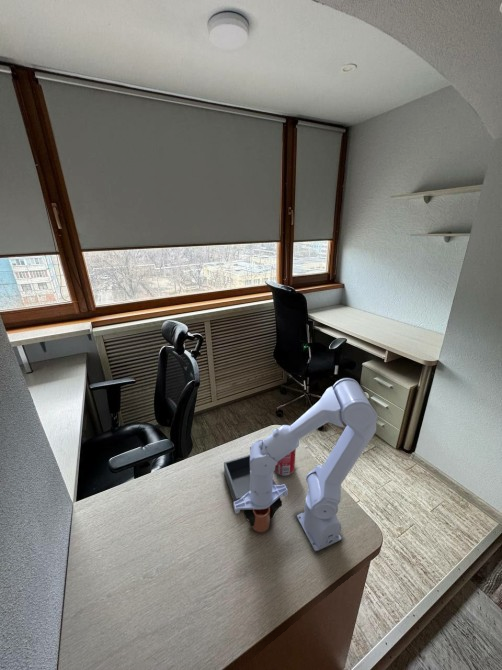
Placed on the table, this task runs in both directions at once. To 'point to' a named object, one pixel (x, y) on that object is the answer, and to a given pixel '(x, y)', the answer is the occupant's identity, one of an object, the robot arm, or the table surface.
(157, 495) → the table surface
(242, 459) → the tub
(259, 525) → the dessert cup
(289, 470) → the soda can
